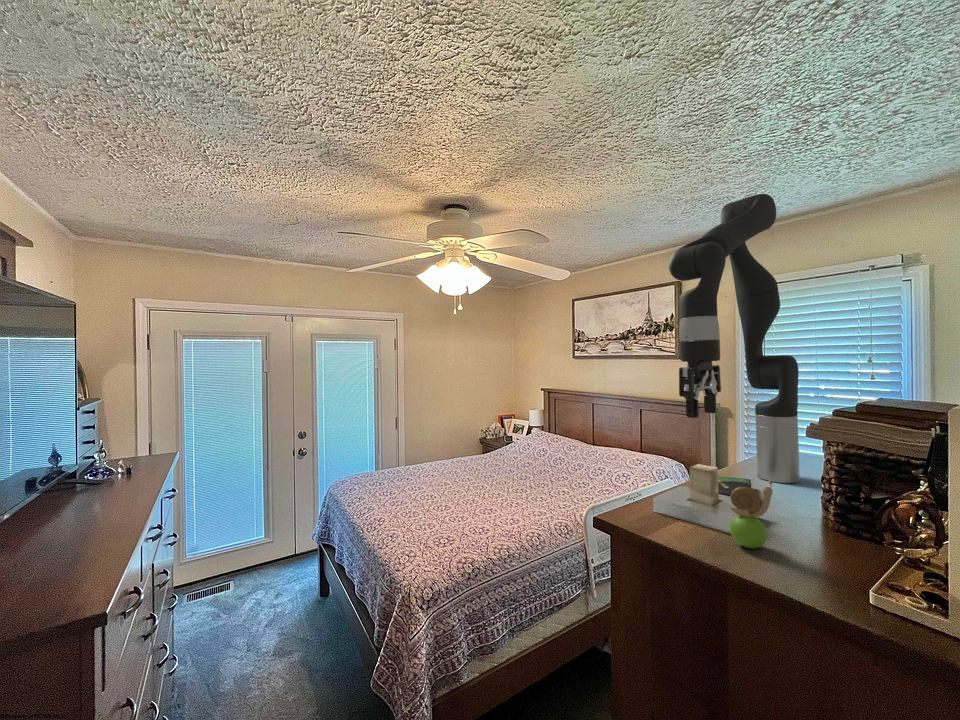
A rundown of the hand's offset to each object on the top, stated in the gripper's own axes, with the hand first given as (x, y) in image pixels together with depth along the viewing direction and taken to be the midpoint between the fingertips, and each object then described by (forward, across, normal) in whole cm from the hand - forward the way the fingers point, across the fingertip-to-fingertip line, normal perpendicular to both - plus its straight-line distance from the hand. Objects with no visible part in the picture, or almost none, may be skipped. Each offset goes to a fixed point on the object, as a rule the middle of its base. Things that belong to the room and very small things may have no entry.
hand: (701, 415), depth 85 cm
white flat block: (+21, 0, 0) cm, 21 cm away
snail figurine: (+21, +10, +12) cm, 26 cm away
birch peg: (+21, 0, 0) cm, 21 cm away
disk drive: (+22, -18, -2) cm, 28 cm away
